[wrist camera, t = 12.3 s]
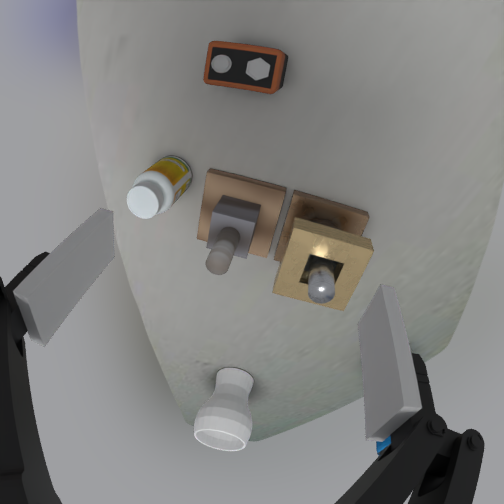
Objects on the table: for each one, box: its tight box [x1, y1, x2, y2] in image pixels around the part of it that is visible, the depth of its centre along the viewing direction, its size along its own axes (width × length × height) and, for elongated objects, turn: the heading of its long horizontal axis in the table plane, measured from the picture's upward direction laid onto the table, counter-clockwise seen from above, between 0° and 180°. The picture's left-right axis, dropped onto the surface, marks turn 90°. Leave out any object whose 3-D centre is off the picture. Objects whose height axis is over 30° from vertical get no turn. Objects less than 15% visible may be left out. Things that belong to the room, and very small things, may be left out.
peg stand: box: [274, 190, 369, 304], centre depth 38 cm, size 10×10×12 cm
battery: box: [203, 41, 288, 94], centre depth 29 cm, size 4×7×10 cm, turn 81°
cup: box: [194, 368, 254, 451], centre depth 58 cm, size 11×11×15 cm
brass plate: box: [272, 217, 374, 311], centre depth 37 cm, size 9×9×2 cm
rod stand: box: [197, 168, 286, 275], centre depth 38 cm, size 10×10×12 cm
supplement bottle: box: [127, 156, 192, 219], centre depth 38 cm, size 5×5×10 cm
